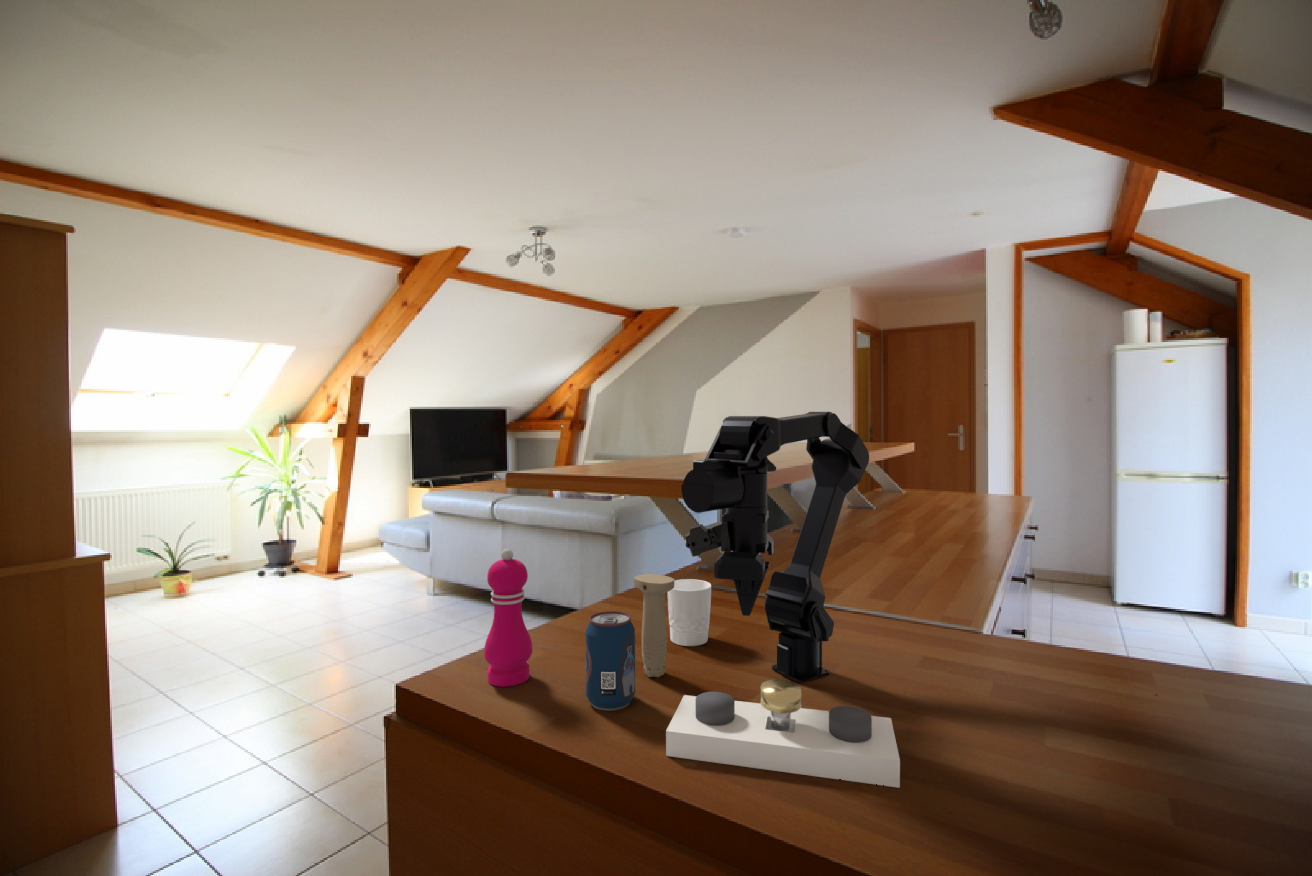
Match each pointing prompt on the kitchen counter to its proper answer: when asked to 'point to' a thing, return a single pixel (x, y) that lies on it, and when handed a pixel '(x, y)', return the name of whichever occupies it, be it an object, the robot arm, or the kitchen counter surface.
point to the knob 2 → (850, 724)
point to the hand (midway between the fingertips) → (746, 615)
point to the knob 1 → (715, 708)
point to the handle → (654, 621)
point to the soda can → (610, 660)
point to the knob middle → (780, 701)
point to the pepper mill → (507, 624)
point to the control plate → (785, 744)
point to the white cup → (689, 612)
